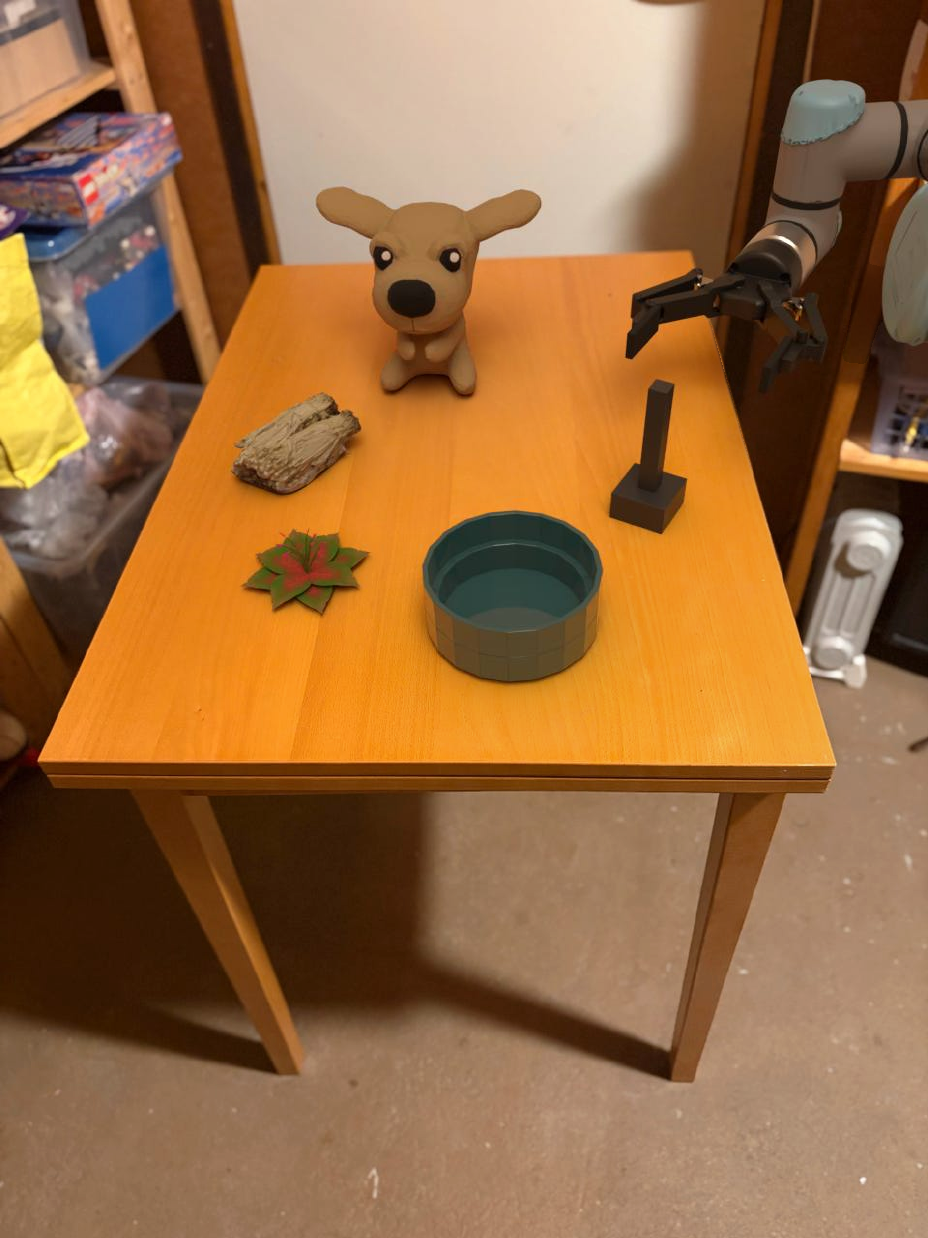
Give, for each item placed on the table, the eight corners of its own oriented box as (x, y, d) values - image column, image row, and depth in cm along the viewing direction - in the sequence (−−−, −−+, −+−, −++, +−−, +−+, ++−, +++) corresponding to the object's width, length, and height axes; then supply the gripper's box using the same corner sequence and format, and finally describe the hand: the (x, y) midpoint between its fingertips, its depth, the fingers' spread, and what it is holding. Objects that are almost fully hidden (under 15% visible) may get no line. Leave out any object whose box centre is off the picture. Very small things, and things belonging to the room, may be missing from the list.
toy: (313, 412, 107) (281, 241, 93) (353, 328, 121) (331, 168, 107) (527, 423, 104) (528, 247, 90) (544, 336, 117) (547, 170, 103)
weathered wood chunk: (310, 417, 107) (302, 376, 103) (372, 444, 102) (366, 402, 98) (215, 480, 99) (203, 438, 95) (278, 512, 95) (268, 469, 91)
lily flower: (393, 552, 90) (388, 515, 86) (327, 634, 82) (320, 597, 79) (290, 521, 94) (281, 484, 90) (218, 597, 86) (206, 560, 83)
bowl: (625, 598, 84) (631, 543, 79) (547, 711, 75) (549, 657, 70) (483, 545, 90) (481, 492, 85) (395, 645, 81) (387, 591, 76)
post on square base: (684, 502, 93) (703, 378, 83) (661, 534, 90) (678, 409, 80) (632, 486, 95) (645, 363, 85) (608, 516, 92) (619, 393, 82)
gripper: (876, 329, 99) (816, 430, 87) (658, 281, 109) (576, 366, 97) (896, 261, 94) (835, 358, 81) (665, 217, 103) (579, 298, 91)
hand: (694, 363), depth 89 cm, fingers open, 13 cm apart
